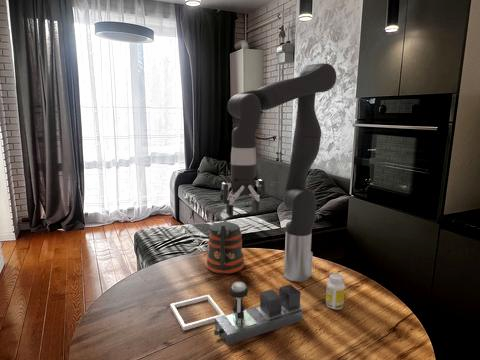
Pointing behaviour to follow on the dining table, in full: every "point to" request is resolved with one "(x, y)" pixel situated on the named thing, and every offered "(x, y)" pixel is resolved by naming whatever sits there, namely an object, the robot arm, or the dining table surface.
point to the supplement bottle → (335, 292)
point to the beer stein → (225, 248)
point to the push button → (238, 299)
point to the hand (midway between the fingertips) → (242, 214)
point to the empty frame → (200, 322)
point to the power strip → (262, 315)
